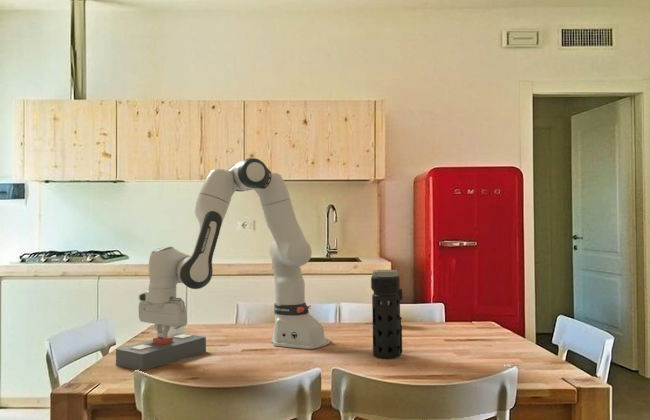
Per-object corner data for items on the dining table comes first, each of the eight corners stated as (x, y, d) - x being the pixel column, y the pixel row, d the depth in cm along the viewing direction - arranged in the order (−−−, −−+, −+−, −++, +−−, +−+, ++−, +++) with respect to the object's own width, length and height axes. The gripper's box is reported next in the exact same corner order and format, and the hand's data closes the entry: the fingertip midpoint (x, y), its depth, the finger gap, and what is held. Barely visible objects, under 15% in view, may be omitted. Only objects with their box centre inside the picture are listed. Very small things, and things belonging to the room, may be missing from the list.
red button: (172, 352, 165) (172, 337, 165) (162, 355, 161) (161, 340, 161) (163, 350, 167) (163, 335, 167) (153, 353, 164) (153, 338, 164)
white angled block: (163, 333, 190) (168, 311, 195) (174, 340, 199) (179, 319, 203) (171, 333, 190) (177, 311, 194) (182, 341, 198) (187, 319, 202)
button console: (205, 351, 172) (205, 337, 172) (142, 371, 150) (142, 354, 150) (180, 346, 179) (180, 332, 179) (115, 364, 157) (115, 348, 157)
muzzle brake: (398, 350, 170) (368, 352, 168) (397, 269, 170) (367, 269, 169) (407, 358, 160) (376, 360, 159) (405, 271, 161) (375, 272, 159)
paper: (529, 357, 162) (529, 353, 162) (547, 373, 145) (547, 369, 145) (451, 356, 164) (451, 352, 164) (460, 371, 147) (460, 368, 147)
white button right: (192, 349, 172) (192, 335, 172) (182, 352, 168) (182, 338, 169) (183, 348, 174) (183, 334, 175) (173, 351, 171) (173, 336, 171)
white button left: (151, 361, 158) (151, 346, 158) (139, 365, 154) (139, 349, 154) (142, 359, 160) (142, 344, 160) (130, 363, 156) (130, 347, 157)
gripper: (191, 297, 162) (191, 339, 161) (150, 292, 173) (150, 332, 172) (176, 299, 156) (176, 343, 156) (135, 295, 167) (135, 336, 167)
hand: (162, 337), depth 164 cm, fingers closed, pressing on red button
